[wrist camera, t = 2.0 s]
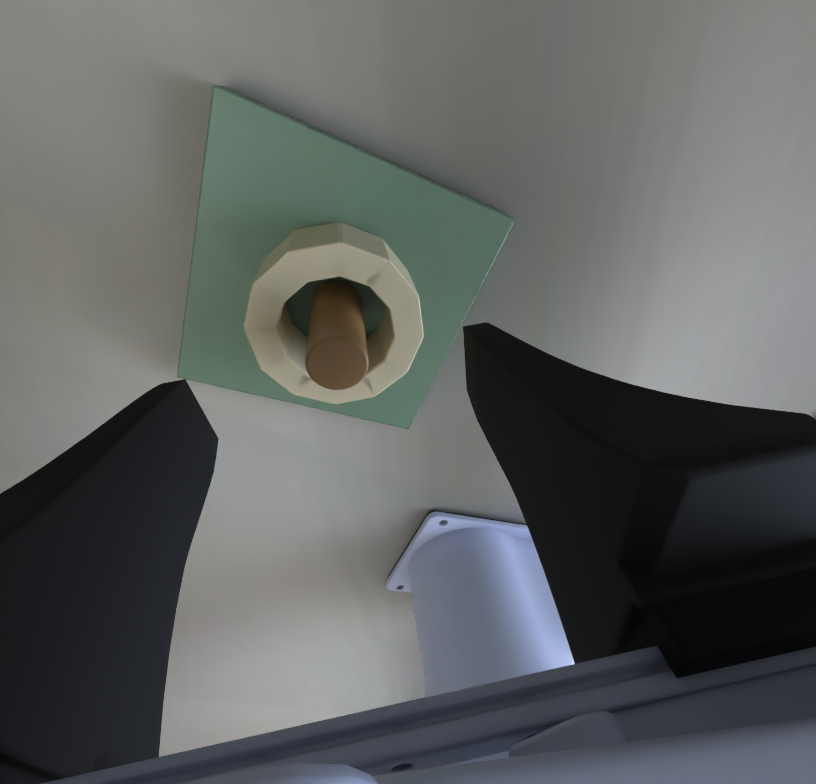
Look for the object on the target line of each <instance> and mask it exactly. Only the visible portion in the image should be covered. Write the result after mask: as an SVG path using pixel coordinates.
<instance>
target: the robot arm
mask: <svg viewBox="0 0 816 784" xmlns="http://www.w3.org/2000/svg"><path fill="white" fill-rule="evenodd" d="M463 331H464V348H465V365H466V382H467V392H468V395H469V398H470V401H471V404H472V407H473V409H474V412H475V415H476V418H477V420H478V422H479V424H480V426H481V428H482V430H483V432H484V434H485V436H486V438H487V440H488V442H489V444H490V446H491V448H492V450H493V452H494V454H495V456H496V458H497V460H498V462H499V464H500V465H501V467H502V469H503V471H504V473H505V475H506V477H507V479H508V481H509V483H510V485H511V487H512V489H513V492H514V494H515V496H516V498H517V500H518V503H519V506H520V508H521V511H522V513H523V516H524V519H525V521H526V524H527V526H526V525H520V524H514V523H507V522H501V521H494V520H488V519H482V518H475V517H469V516H462V515H456V514H450V513H443V512H432V513H430V514H429V515H428V516H427V517H426V519H425V520H424V522H423V523H422V525H421V527H420V528H419V530H418V531H417V533H416V535H415V536H414V538H413V539H412V541H411V543H410V544H409V546H408V547H407V549H406V551H405V552H404V554H403V555H402V557H401V559H400V560H399V562H398V563H397V565H396V567H395V568H394V570H393V571H392V573H391V575H390V576H389V578H388V579H387V581H386V588H387V589H388V590H391V591H402V592H411V594H412V601H413V607H414V614H415V620H416V627H417V633H418V640H419V646H420V653H421V659H422V666H423V672H424V679H425V685H426V692H427V697H425V698H421V699H416V700H412V701H407V702H403V703H398V704H394V705H390V706H385V707H381V708H376V709H372V710H367V711H363V712H358V713H354V714H349V715H345V716H340V717H336V718H332V719H327V720H323V721H318V722H314V723H309V724H305V725H300V726H296V727H291V728H287V729H282V730H278V731H274V732H269V733H265V734H260V735H256V736H251V737H247V738H242V739H238V740H233V741H229V742H224V743H220V744H216V745H211V746H207V747H202V748H198V749H193V750H189V751H184V752H180V753H175V754H171V755H166V756H162V757H159V745H160V733H161V722H162V710H163V699H164V691H165V683H166V675H167V667H168V659H169V651H170V644H171V638H172V632H173V626H174V620H175V613H176V607H177V602H178V597H179V592H180V587H181V582H182V577H183V572H184V567H185V563H186V560H187V556H188V552H189V549H190V546H191V542H192V539H193V536H194V533H195V530H196V527H197V524H198V521H199V517H200V514H201V511H202V508H203V505H204V502H205V499H206V495H207V492H208V489H209V486H210V482H211V479H212V476H213V472H214V466H215V460H216V453H217V445H218V437H217V436H216V434H215V432H214V430H213V428H212V427H211V425H210V423H209V421H208V419H207V418H206V416H205V414H204V412H203V410H202V409H201V407H200V405H199V403H198V401H197V400H196V398H195V396H194V394H193V392H192V391H191V389H190V387H189V385H188V383H187V382H186V380H185V379H184V380H179V381H173V382H168V383H163V384H160V385H158V386H156V387H155V388H153V389H151V390H150V391H148V392H147V393H145V394H144V395H142V396H141V397H139V398H138V399H136V400H135V401H134V402H132V403H131V404H130V405H128V406H127V407H125V408H124V409H123V410H121V411H120V412H119V413H117V414H116V415H115V416H113V417H112V418H111V419H109V420H108V421H107V422H105V423H104V424H103V425H101V426H100V427H99V428H97V429H96V430H95V431H93V432H92V433H91V434H89V435H88V436H86V437H85V438H84V439H82V440H81V441H79V442H78V443H77V444H75V445H74V446H72V447H71V448H69V449H68V450H67V451H65V452H64V453H62V454H61V455H60V456H58V457H57V458H55V459H54V460H52V461H51V462H50V463H48V464H47V465H45V466H44V467H42V468H41V469H39V470H38V471H36V472H35V473H33V474H32V475H30V476H28V477H27V478H25V479H24V480H22V481H21V482H19V483H17V484H16V485H14V486H12V487H11V488H9V489H8V490H6V491H4V492H3V493H1V494H0V784H816V419H814V418H813V417H811V416H809V415H807V414H802V413H794V412H785V411H777V410H768V409H760V408H751V407H743V406H734V405H728V404H722V403H716V402H710V401H704V400H699V399H693V398H687V397H682V396H678V395H673V394H668V393H663V392H659V391H655V390H651V389H647V388H643V387H639V386H635V385H632V384H628V383H625V382H621V381H618V380H614V379H611V378H608V377H605V376H603V375H600V374H597V373H594V372H591V371H588V370H585V369H582V368H580V367H577V366H575V365H572V364H570V363H568V362H565V361H563V360H561V359H558V358H556V357H554V356H552V355H550V354H547V353H545V352H543V351H541V350H539V349H537V348H535V347H533V346H531V345H529V344H527V343H525V342H523V341H521V340H520V339H518V338H516V337H514V336H512V335H510V334H508V333H507V332H505V331H503V330H501V329H499V328H497V327H495V326H493V325H491V324H489V323H481V324H475V325H470V326H465V327H463Z"/></svg>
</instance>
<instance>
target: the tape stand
mask: <svg viewBox="0 0 816 784" xmlns="http://www.w3.org/2000/svg"><path fill="white" fill-rule="evenodd" d="M336 222H340V223H344V224H347V225H349V226H352V227H354V228H357V229H360V230H362V231H365V232H367V233H370V234H373V235H375V236H378V237H380V238H382V239H383V240H384V241H385V242H386V244H387V245H388V246H389V247H390V249H391V250H392V251H393V252H394V254H395V255H396V256H397V257H398V259H399V260H400V261H401V262H402V264H403V265H404V266H405V267H406V269H407V270H408V272H409V274H410V277H411V279H412V281H413V284H414V286H415V288H416V291H417V293H418V295H419V300H420V308H421V316H422V324H423V332H424V337H423V340H422V342H421V344H420V346H419V348H418V351H417V353H416V355H415V357H414V359H413V361H412V363H411V366H410V368H409V370H408V372H406V374H405V375H404V376H402V377H401V378H399V379H398V380H397V381H395V382H394V383H393V384H391V385H390V386H389V387H387V388H386V389H384V390H383V391H382V392H380V393H379V394H378V395H376V396H375V397H372V398H366V399H361V400H356V401H351V402H346V403H341V404H331V403H327V402H322V401H318V400H314V399H309V398H305V397H301V396H296V395H293V394H291V393H290V392H289V391H288V390H286V389H285V388H284V387H283V386H281V385H280V384H279V383H278V382H276V381H275V380H274V379H272V378H271V377H270V376H269V375H267V374H266V373H265V372H264V371H262V370H261V369H260V367H259V365H258V362H257V360H256V357H255V355H254V353H253V350H252V348H251V345H250V343H249V340H248V338H247V336H246V333H245V331H244V321H245V316H246V311H247V306H248V301H249V297H250V292H251V287H252V284H253V282H254V280H255V278H256V275H257V273H258V271H259V269H260V267H261V265H262V263H263V260H264V258H265V257H266V256H267V255H268V254H269V253H271V252H272V251H273V250H274V249H275V248H276V247H277V246H278V245H279V244H280V243H281V242H282V241H283V240H284V239H285V238H287V237H288V236H289V235H290V234H291V233H292V232H293V231H294V230H297V229H302V228H307V227H313V226H319V225H324V224H330V223H336ZM513 223H514V219H513V218H511V217H510V216H508V215H507V214H505V213H503V212H500V211H498V210H496V209H494V208H492V207H489V206H487V205H485V204H483V203H481V202H478V201H476V200H474V199H472V198H469V197H467V196H465V195H463V194H461V193H458V192H456V191H454V190H452V189H450V188H447V187H445V186H443V185H441V184H438V183H436V182H434V181H432V180H430V179H427V178H425V177H423V176H421V175H419V174H416V173H414V172H412V171H410V170H407V169H405V168H403V167H401V166H399V165H396V164H394V163H392V162H390V161H388V160H385V159H383V158H381V157H379V156H376V155H374V154H372V153H370V152H368V151H365V150H363V149H361V148H359V147H357V146H354V145H352V144H350V143H348V142H345V141H343V140H341V139H339V138H337V137H334V136H332V135H330V134H328V133H326V132H323V131H321V130H319V129H317V128H314V127H312V126H310V125H308V124H306V123H303V122H301V121H299V120H297V119H295V118H292V117H290V116H288V115H286V114H283V113H281V112H279V111H277V110H275V109H272V108H270V107H268V106H266V105H264V104H261V103H259V102H257V101H255V100H252V99H250V98H248V97H246V96H244V95H241V94H239V93H237V92H235V91H233V90H230V89H228V88H226V87H224V86H219V85H214V86H213V92H212V100H211V108H210V116H209V124H208V132H207V140H206V148H205V156H204V164H203V172H202V180H201V188H200V196H199V204H198V212H197V220H196V228H195V236H194V244H193V252H192V260H191V268H190V276H189V285H188V293H187V301H186V309H185V317H184V325H183V333H182V341H181V349H180V357H179V365H178V373H177V377H179V378H183V379H188V380H192V381H197V382H201V383H206V384H210V385H215V386H219V387H224V388H228V389H232V390H237V391H241V392H246V393H250V394H255V395H259V396H264V397H268V398H272V399H277V400H281V401H286V402H290V403H295V404H299V405H304V406H308V407H312V408H317V409H321V410H326V411H330V412H335V413H339V414H344V415H348V416H353V417H357V418H361V419H366V420H370V421H375V422H379V423H384V424H388V425H393V426H397V427H401V428H406V429H409V427H410V425H411V424H412V422H413V420H414V418H415V416H416V414H417V412H418V410H419V408H420V406H421V404H422V402H423V400H424V398H425V396H426V394H427V392H428V390H429V388H430V386H431V384H432V382H433V380H434V378H435V376H436V374H437V372H438V370H439V368H440V367H441V365H442V363H443V361H444V359H445V357H446V355H447V353H448V351H449V349H450V347H451V345H452V343H453V341H454V339H455V337H456V335H457V333H458V331H459V329H460V327H461V325H462V323H463V321H464V319H465V317H466V315H467V313H468V311H469V309H470V308H471V306H472V304H473V302H474V300H475V298H476V296H477V294H478V292H479V290H480V288H481V286H482V284H483V282H484V280H485V278H486V276H487V274H488V272H489V270H490V268H491V266H492V264H493V262H494V260H495V258H496V256H497V254H498V252H499V251H500V249H501V247H502V245H503V243H504V241H505V239H506V237H507V235H508V233H509V231H510V229H511V227H512V225H513ZM286 305H287V308H288V311H289V314H290V317H291V320H292V323H293V325H295V326H296V327H297V328H298V329H299V330H300V331H301V332H302V333H303V334H304V335H306V336H307V337H308V340H307V349H306V357H305V367H306V370H307V373H308V374H309V376H310V377H311V379H312V380H313V381H314V382H315V383H317V384H318V385H320V386H322V387H324V388H327V389H331V390H344V389H348V388H351V387H353V386H355V385H356V384H358V383H359V382H360V381H361V380H362V379H363V378H364V376H365V375H366V373H367V371H368V367H369V359H368V351H367V343H366V338H368V337H369V336H370V335H371V334H373V333H374V332H375V331H376V330H378V328H379V326H380V323H381V321H382V318H383V316H384V313H385V310H386V308H387V306H386V305H385V304H384V303H383V301H382V300H381V299H380V298H379V297H378V296H377V295H376V294H375V292H374V291H373V290H372V289H371V288H370V287H369V286H366V285H363V284H360V283H357V282H354V281H352V280H349V279H346V278H343V277H340V276H339V277H334V278H328V279H323V280H317V281H311V282H307V283H306V284H305V285H304V286H303V287H302V288H300V289H299V290H298V291H297V292H296V293H295V294H294V295H292V296H291V297H290V298H289V299H288V300H287V301H286Z"/></svg>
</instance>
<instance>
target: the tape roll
mask: <svg viewBox="0 0 816 784" xmlns="http://www.w3.org/2000/svg"><path fill="white" fill-rule="evenodd" d="M339 276H340V277H343V278H346V279H349V280H352V281H354V282H357V283H360V284H363V285H366V286H369V287H370V288H371V289H372V290H373V291H374V292H375V294H376V295H377V296H378V297H379V298H380V299H381V300H382V301H383V303H384V304H385V305H386V306H387V308H386V310H385V313H384V316H383V318H382V321H381V323H380V326H379V328H378V330H376V331H375V332H374V333H373V334H371V335H370V336H369V337H368V338H366V343H367V351H368V359H369V367H368V371H367V373H366V375H365V376H364V378H363V379H362V380H361V381H360V382H359V383H358V384H356V385H355V386H353V387H351V388H348V389H344V390H331V389H327V388H324V387H322V386H320V385H318V384H317V383H315V382H314V381H313V380H312V379H311V377H310V376H309V374H308V373H307V370H306V367H305V357H306V349H307V340H308V337H307V336H306V335H304V334H303V333H302V332H301V331H300V330H299V329H298V328H297V327H296V326H295V325H293V323H292V320H291V317H290V314H289V311H288V308H287V305H286V301H287V300H288V299H289V298H290V297H291V296H292V295H294V294H295V293H296V292H297V291H298V290H299V289H300V288H302V287H303V286H304V285H305V284H306V283H307V282H311V281H317V280H323V279H328V278H334V277H339ZM244 331H245V333H246V336H247V338H248V340H249V343H250V345H251V348H252V350H253V353H254V355H255V357H256V360H257V362H258V365H259V367H260V369H261V370H262V371H264V372H265V373H266V374H267V375H269V376H270V377H271V378H272V379H274V380H275V381H276V382H278V383H279V384H280V385H281V386H283V387H284V388H285V389H286V390H288V391H289V392H290V393H291V394H293V395H296V396H301V397H305V398H309V399H314V400H318V401H322V402H327V403H331V404H341V403H346V402H351V401H356V400H361V399H366V398H372V397H375V396H376V395H378V394H379V393H380V392H382V391H383V390H384V389H386V388H387V387H389V386H390V385H391V384H393V383H394V382H395V381H397V380H398V379H399V378H401V377H402V376H404V375H405V374H406V372H408V370H409V368H410V366H411V363H412V361H413V359H414V357H415V355H416V353H417V351H418V348H419V346H420V344H421V342H422V340H423V337H424V332H423V324H422V316H421V308H420V300H419V295H418V293H417V291H416V288H415V286H414V284H413V281H412V279H411V277H410V274H409V272H408V270H407V269H406V267H405V266H404V265H403V264H402V262H401V261H400V260H399V259H398V257H397V256H396V255H395V254H394V252H393V251H392V250H391V249H390V247H389V246H388V245H387V244H386V242H385V241H384V240H383V239H382V238H380V237H378V236H375V235H373V234H370V233H367V232H365V231H362V230H360V229H357V228H354V227H352V226H349V225H347V224H344V223H340V222H336V223H330V224H324V225H319V226H313V227H307V228H302V229H297V230H294V231H293V232H292V233H291V234H290V235H289V236H288V237H287V238H285V239H284V240H283V241H282V242H281V243H280V244H279V245H278V246H277V247H276V248H275V249H274V250H273V251H272V252H271V253H269V254H268V255H267V256H266V257H265V258H264V260H263V263H262V265H261V267H260V269H259V271H258V273H257V275H256V278H255V280H254V282H253V284H252V287H251V292H250V297H249V301H248V306H247V311H246V316H245V321H244Z"/></svg>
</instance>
